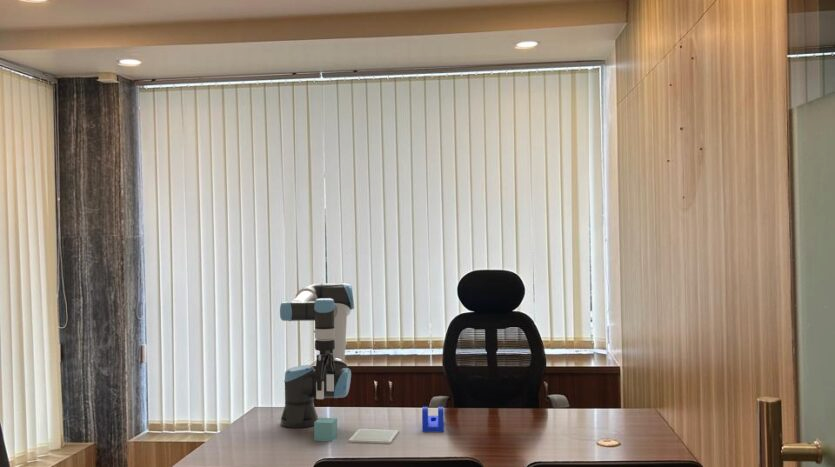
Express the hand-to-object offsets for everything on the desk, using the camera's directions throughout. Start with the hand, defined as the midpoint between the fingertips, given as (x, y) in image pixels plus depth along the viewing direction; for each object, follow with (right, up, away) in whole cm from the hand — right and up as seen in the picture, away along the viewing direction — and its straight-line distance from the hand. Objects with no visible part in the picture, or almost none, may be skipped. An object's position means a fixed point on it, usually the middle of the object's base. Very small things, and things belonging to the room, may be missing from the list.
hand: (325, 395), depth 294 cm
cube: (0, -17, 0) cm, 17 cm away
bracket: (+42, -16, +18) cm, 48 cm away
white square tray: (+19, -16, +1) cm, 25 cm away
